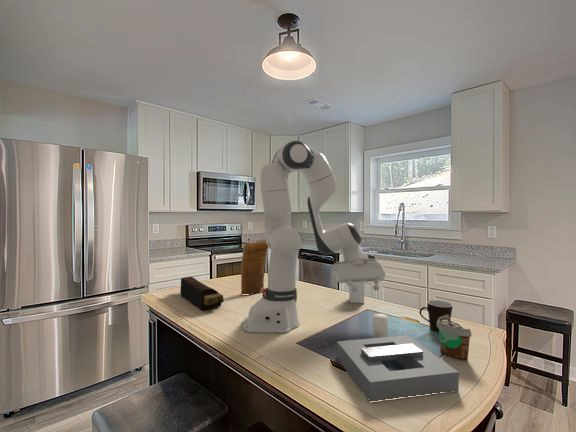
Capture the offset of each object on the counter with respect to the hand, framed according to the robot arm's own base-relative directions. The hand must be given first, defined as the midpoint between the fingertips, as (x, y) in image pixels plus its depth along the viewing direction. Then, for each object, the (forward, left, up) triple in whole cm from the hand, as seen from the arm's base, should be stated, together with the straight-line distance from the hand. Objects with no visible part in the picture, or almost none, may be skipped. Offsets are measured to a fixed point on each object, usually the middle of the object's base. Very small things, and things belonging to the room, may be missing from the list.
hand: (365, 290), depth 117 cm
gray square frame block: (-8, -33, -14) cm, 37 cm away
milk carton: (+10, +30, -14) cm, 35 cm away
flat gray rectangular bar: (-8, -33, -9) cm, 35 cm away
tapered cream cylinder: (0, -12, -14) cm, 18 cm away
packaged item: (-67, +44, -14) cm, 81 cm away
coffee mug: (+25, -8, -14) cm, 30 cm away
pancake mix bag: (-39, +53, -14) cm, 67 cm away
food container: (+16, -26, -14) cm, 33 cm away
